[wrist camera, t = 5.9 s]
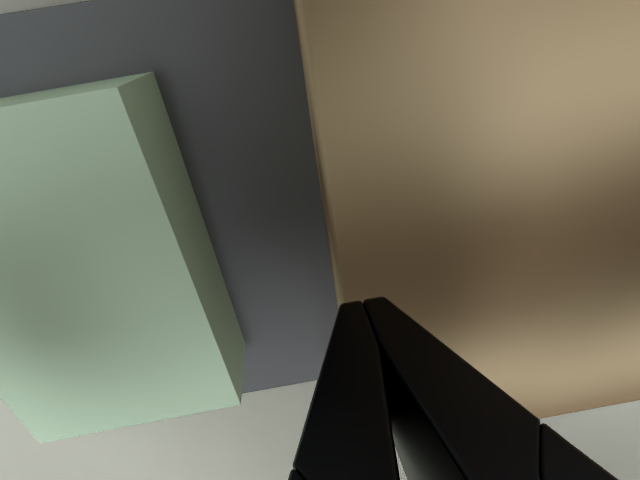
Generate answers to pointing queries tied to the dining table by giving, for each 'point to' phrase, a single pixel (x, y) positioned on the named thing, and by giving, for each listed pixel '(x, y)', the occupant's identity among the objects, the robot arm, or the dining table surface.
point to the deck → (488, 180)
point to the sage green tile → (106, 266)
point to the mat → (215, 146)
